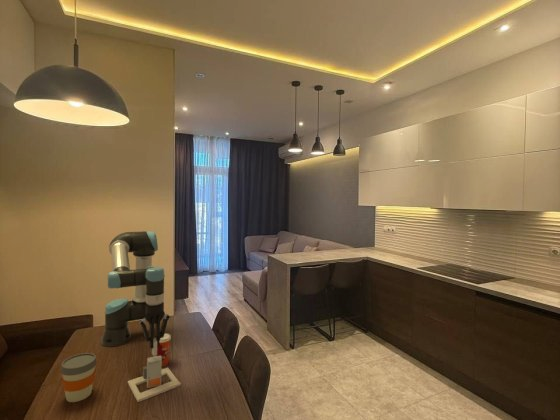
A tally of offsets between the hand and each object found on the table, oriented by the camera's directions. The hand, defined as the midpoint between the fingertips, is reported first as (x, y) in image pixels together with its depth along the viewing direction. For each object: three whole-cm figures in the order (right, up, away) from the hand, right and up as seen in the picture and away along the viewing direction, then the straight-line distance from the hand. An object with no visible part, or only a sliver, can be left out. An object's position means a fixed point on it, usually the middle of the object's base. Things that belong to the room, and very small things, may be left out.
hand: (154, 354), depth 134 cm
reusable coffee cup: (-29, -14, -8) cm, 33 cm away
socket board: (0, -14, +1) cm, 14 cm away
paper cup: (-3, -13, +18) cm, 23 cm away
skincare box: (0, -14, +1) cm, 14 cm away
